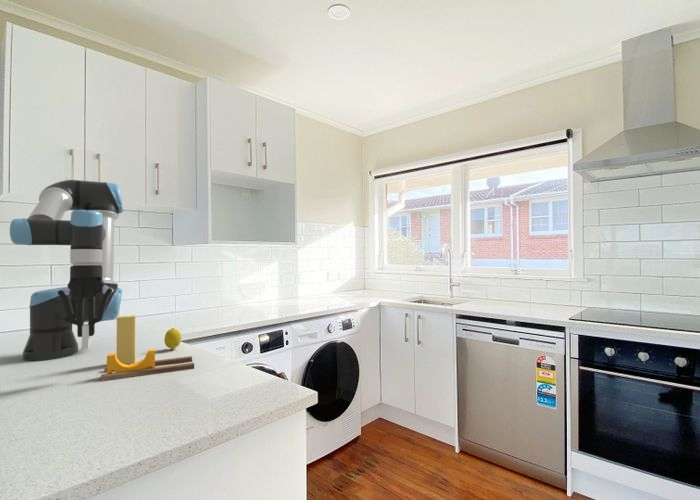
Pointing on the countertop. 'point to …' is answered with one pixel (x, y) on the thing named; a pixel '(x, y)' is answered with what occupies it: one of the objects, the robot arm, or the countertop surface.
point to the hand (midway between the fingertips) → (85, 347)
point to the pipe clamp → (120, 367)
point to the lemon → (172, 338)
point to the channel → (152, 370)
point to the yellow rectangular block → (126, 338)
